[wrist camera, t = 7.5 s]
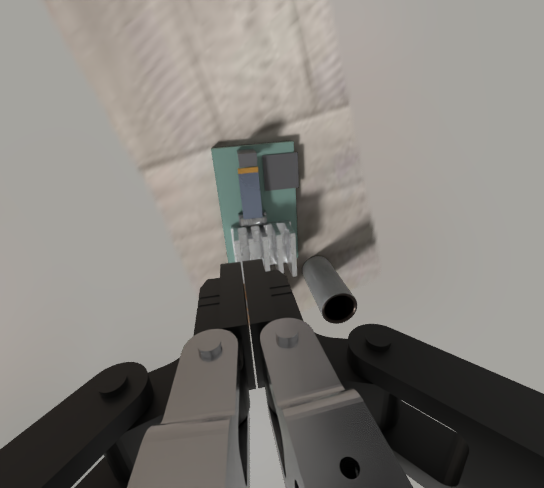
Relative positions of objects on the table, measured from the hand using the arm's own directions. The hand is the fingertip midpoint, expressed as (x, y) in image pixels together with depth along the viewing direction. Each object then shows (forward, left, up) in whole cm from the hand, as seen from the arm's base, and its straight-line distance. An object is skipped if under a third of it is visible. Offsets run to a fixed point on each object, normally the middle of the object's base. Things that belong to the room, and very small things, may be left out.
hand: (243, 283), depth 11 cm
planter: (+17, +11, -29) cm, 36 cm away
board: (+6, +3, -29) cm, 30 cm away
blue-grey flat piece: (+4, +2, -27) cm, 27 cm away
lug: (-1, +2, -28) cm, 28 cm away
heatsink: (+10, +3, -28) cm, 30 cm away
